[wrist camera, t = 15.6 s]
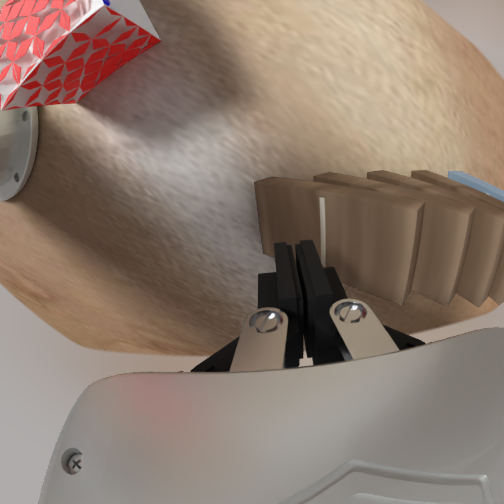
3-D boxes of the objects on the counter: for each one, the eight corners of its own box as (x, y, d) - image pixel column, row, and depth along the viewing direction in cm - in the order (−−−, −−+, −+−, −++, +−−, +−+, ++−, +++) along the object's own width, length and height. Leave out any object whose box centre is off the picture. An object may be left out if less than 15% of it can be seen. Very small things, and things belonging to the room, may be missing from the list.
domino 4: (442, 228, 19) (516, 296, 10) (448, 170, 16) (539, 218, 8) (456, 227, 19) (529, 291, 10) (462, 171, 16) (550, 217, 7)
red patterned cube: (51, 37, 12) (-15, 29, 5) (127, -22, 10) (74, -62, 3) (76, 104, 15) (1, 112, 8) (162, 42, 13) (104, 6, 6)
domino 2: (316, 246, 19) (446, 307, 11) (312, 176, 17) (469, 215, 9) (331, 239, 20) (456, 292, 12) (330, 172, 17) (475, 206, 10)
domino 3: (365, 240, 19) (478, 308, 10) (366, 172, 16) (503, 220, 8) (380, 234, 19) (489, 295, 11) (382, 170, 17) (511, 213, 9)
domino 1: (262, 253, 19) (401, 305, 12) (253, 182, 17) (416, 211, 10) (279, 244, 20) (411, 289, 13) (272, 176, 18) (425, 201, 11)
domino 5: (406, 233, 19) (498, 305, 10) (411, 170, 17) (524, 221, 8) (421, 230, 19) (510, 296, 10) (426, 170, 17) (534, 217, 8)
